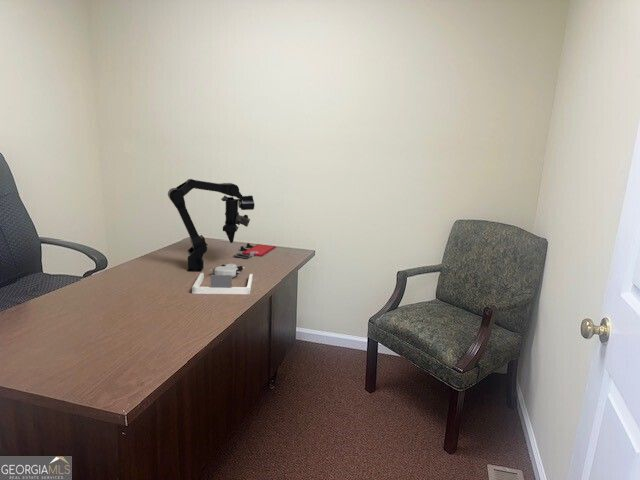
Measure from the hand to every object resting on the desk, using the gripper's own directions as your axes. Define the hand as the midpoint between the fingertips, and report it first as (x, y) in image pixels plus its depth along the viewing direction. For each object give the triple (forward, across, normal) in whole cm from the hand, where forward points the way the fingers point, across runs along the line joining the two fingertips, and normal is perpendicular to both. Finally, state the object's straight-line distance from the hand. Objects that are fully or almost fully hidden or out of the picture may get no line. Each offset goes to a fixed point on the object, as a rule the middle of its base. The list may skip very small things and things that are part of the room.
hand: (231, 242), depth 201 cm
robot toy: (+12, -13, 0) cm, 18 cm away
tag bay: (+12, -28, 0) cm, 30 cm away
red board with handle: (+13, +29, -9) cm, 33 cm away
